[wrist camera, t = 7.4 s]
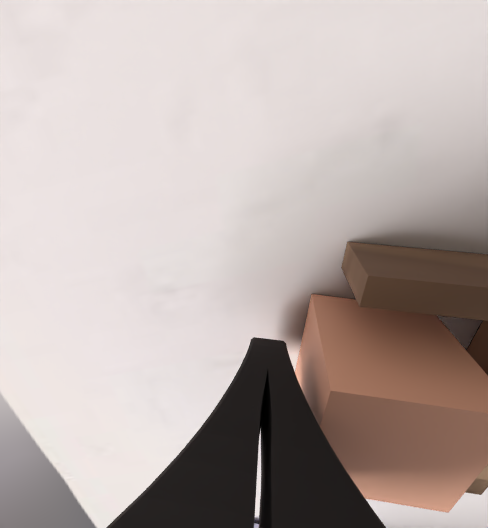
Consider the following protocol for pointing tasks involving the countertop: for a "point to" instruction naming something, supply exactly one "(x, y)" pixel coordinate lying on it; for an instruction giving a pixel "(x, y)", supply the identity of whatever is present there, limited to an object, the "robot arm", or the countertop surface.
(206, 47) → the countertop surface
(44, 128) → the countertop surface
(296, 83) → the countertop surface
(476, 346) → the walnut bay
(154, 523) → the robot arm
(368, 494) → the terracotta block
